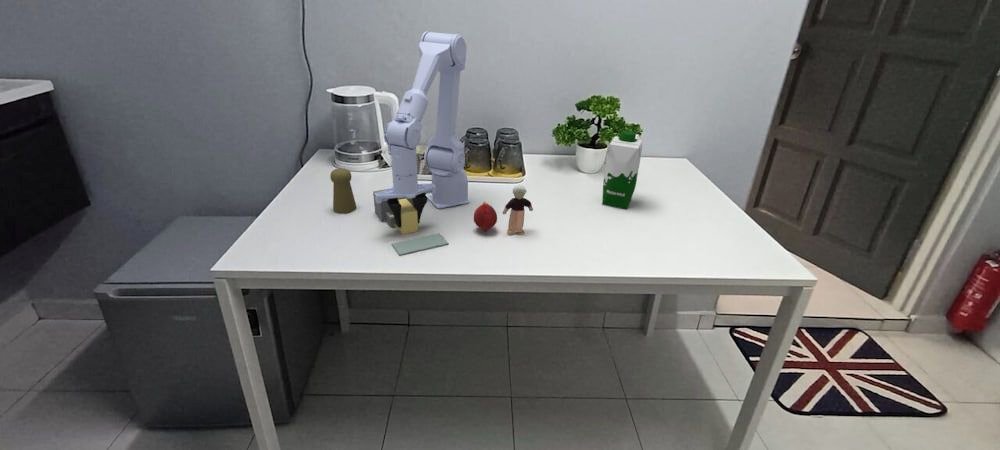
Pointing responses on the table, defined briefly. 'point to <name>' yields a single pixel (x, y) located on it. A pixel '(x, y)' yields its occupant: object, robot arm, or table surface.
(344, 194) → the cork
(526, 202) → the grandmother figurine
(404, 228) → the tall tan block
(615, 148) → the milk carton
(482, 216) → the onion
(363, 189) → the table surface
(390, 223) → the grey boxy piece
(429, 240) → the mat
